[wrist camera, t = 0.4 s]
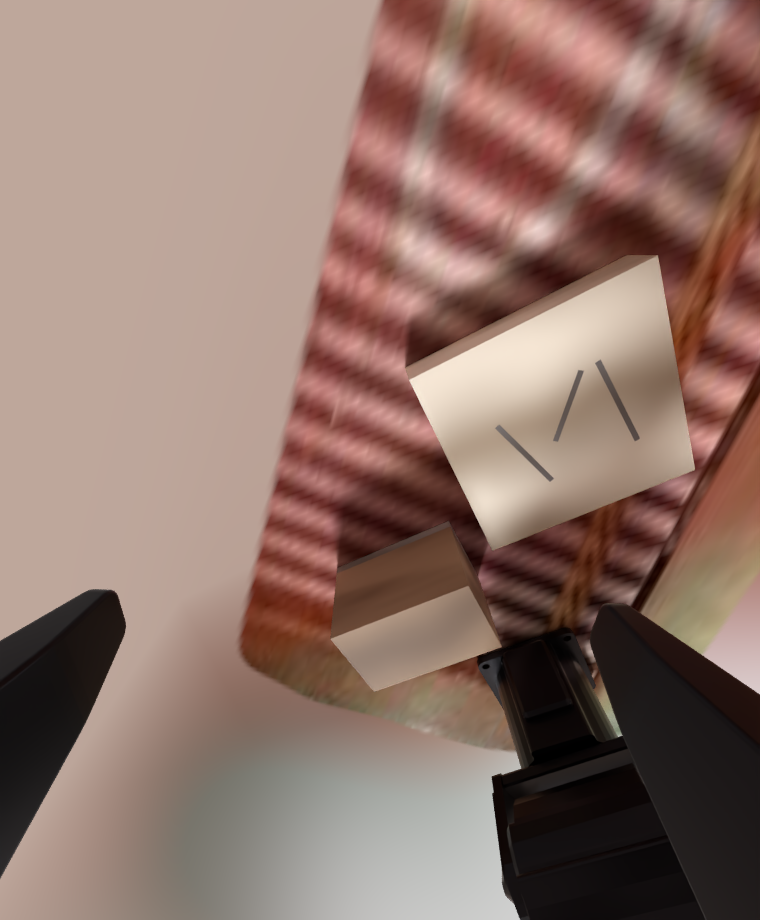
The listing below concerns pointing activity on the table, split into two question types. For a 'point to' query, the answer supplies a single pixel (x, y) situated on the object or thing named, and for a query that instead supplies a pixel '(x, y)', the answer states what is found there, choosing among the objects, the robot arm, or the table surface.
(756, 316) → the table surface
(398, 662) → the block
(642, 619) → the robot arm
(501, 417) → the birch board
